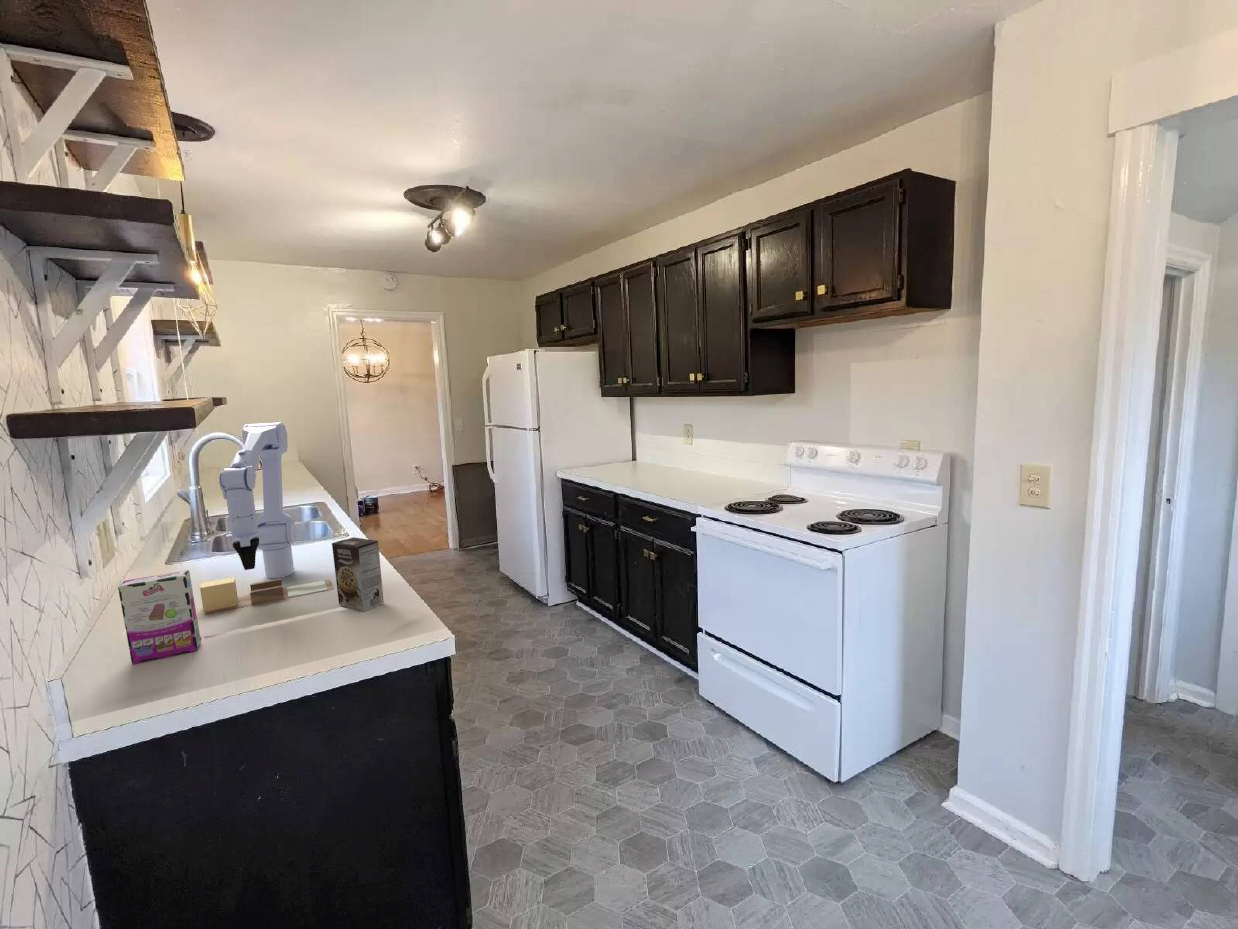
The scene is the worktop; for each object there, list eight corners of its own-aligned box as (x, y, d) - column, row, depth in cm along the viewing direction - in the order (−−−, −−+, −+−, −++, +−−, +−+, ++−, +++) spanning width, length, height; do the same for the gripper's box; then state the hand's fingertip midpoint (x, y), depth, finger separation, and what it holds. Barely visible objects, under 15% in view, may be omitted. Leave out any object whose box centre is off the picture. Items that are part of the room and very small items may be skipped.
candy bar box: (201, 642, 129) (190, 569, 126) (198, 651, 124) (186, 575, 122) (136, 655, 124) (123, 579, 121) (130, 665, 119) (117, 586, 117)
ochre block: (204, 606, 149) (201, 583, 148) (238, 599, 152) (234, 577, 151) (203, 612, 145) (200, 588, 144) (237, 605, 148) (234, 581, 148)
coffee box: (337, 607, 146) (330, 543, 144) (360, 598, 152) (353, 536, 149) (363, 612, 142) (356, 546, 140) (385, 603, 147) (378, 539, 145)
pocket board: (208, 605, 151) (206, 591, 151) (330, 582, 166) (328, 568, 165) (205, 618, 143) (203, 602, 142) (334, 592, 157) (332, 578, 157)
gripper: (224, 513, 153) (231, 564, 155) (222, 523, 141) (230, 579, 143) (256, 509, 157) (263, 559, 159) (256, 518, 144) (264, 573, 146)
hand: (249, 568), depth 151 cm, fingers closed
